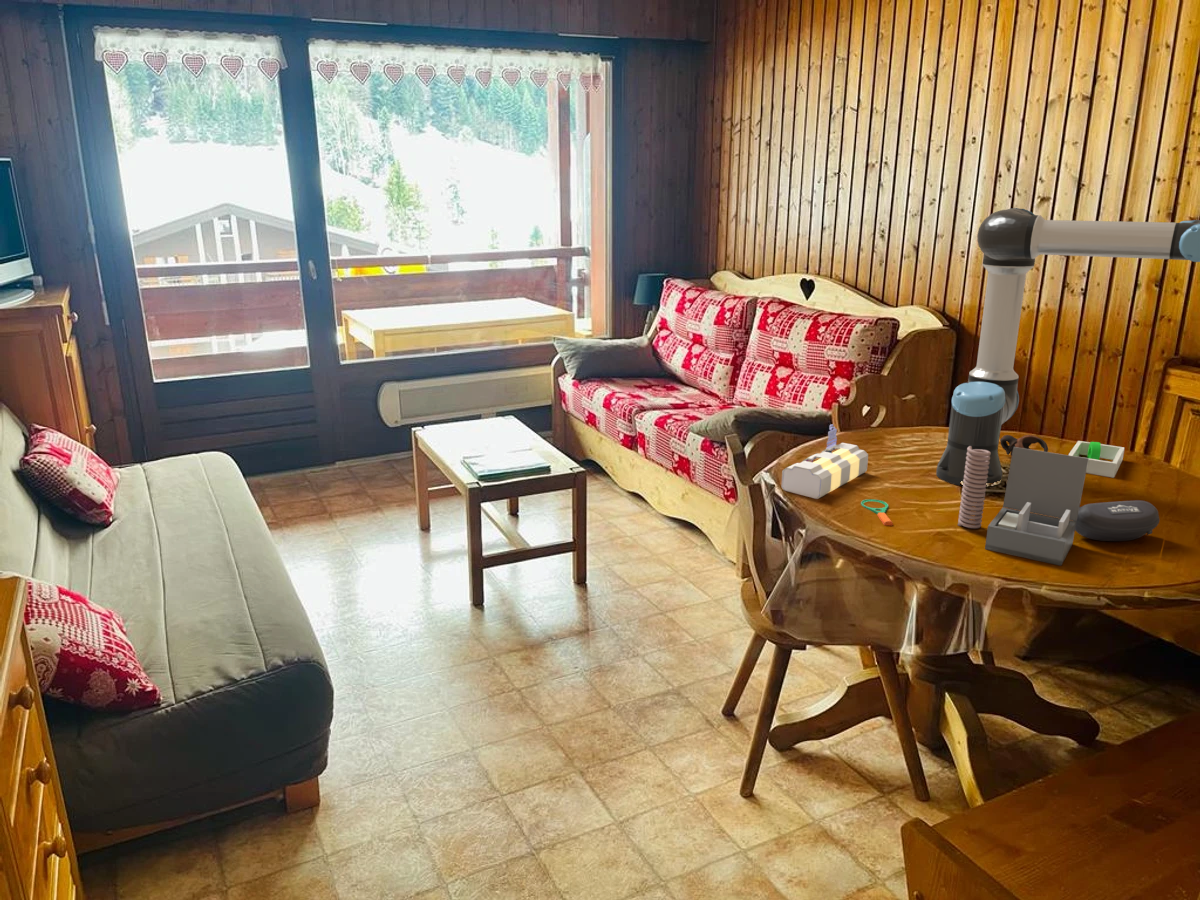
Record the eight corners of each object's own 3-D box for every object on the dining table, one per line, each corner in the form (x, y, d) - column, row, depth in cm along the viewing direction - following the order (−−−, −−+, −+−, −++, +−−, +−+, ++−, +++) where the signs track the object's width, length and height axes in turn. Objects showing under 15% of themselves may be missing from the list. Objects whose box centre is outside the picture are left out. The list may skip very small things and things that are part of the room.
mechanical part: (1113, 476, 226) (1119, 447, 224) (1088, 473, 229) (1093, 444, 226) (1106, 463, 237) (1111, 435, 235) (1081, 460, 239) (1086, 433, 237)
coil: (979, 525, 188) (990, 446, 183) (981, 533, 184) (992, 452, 179) (956, 522, 190) (966, 444, 185) (957, 530, 186) (968, 450, 180)
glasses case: (1089, 550, 176) (1095, 514, 173) (1055, 530, 186) (1060, 496, 183) (1167, 544, 178) (1175, 508, 176) (1130, 525, 188) (1136, 491, 186)
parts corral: (1064, 470, 223) (1067, 456, 222) (1075, 454, 236) (1078, 440, 235) (1113, 478, 217) (1116, 463, 216) (1122, 461, 230) (1124, 447, 229)
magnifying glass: (857, 503, 203) (858, 497, 202) (883, 504, 202) (884, 497, 202) (874, 528, 188) (874, 521, 188) (902, 528, 188) (902, 521, 187)
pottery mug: (1042, 460, 233) (1056, 441, 227) (1031, 483, 228) (1045, 464, 222) (999, 439, 237) (1011, 420, 231) (987, 462, 232) (999, 443, 226)
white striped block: (829, 468, 227) (832, 420, 223) (866, 477, 220) (870, 427, 217) (780, 493, 209) (784, 442, 205) (820, 503, 202) (824, 450, 199)
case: (984, 548, 176) (996, 465, 171) (1003, 524, 189) (1014, 446, 183) (1061, 565, 168) (1075, 478, 163) (1074, 539, 181) (1088, 457, 175)
